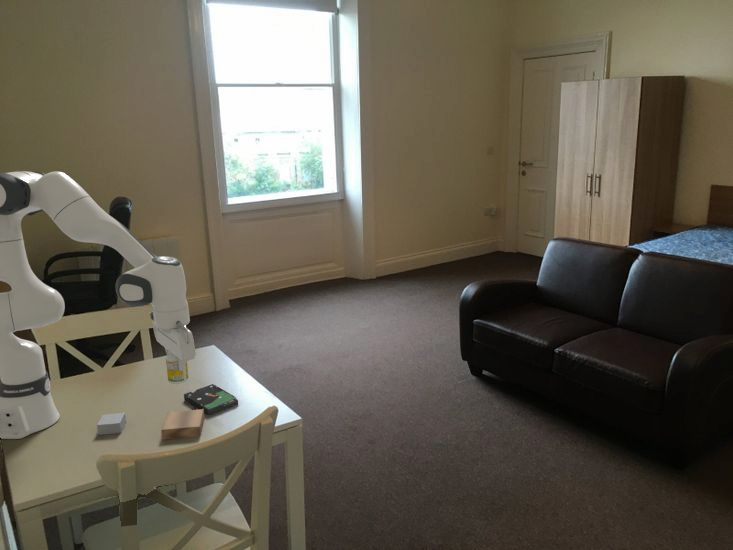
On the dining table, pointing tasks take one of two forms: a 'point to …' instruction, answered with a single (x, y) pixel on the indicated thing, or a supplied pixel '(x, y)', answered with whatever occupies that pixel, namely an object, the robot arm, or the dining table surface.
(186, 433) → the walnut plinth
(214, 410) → the disk drive
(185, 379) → the supplement bottle
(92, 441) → the dining table surface
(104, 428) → the slate plinth
